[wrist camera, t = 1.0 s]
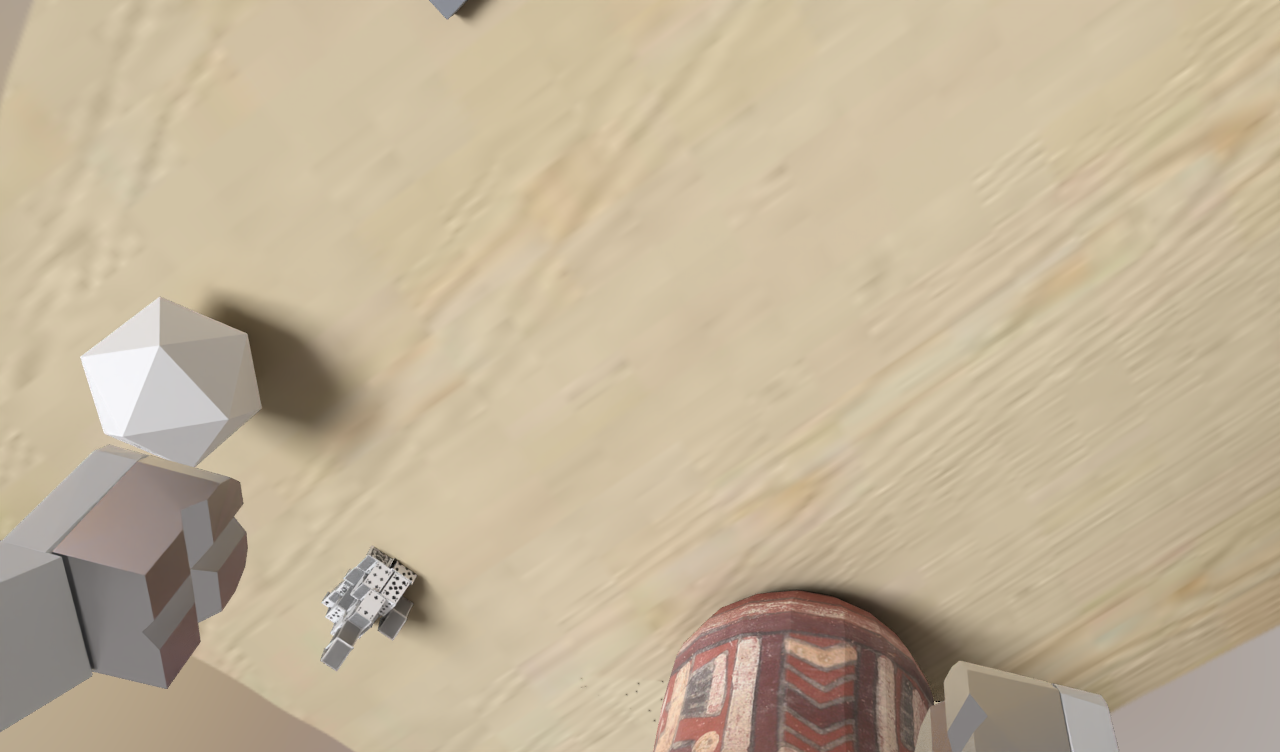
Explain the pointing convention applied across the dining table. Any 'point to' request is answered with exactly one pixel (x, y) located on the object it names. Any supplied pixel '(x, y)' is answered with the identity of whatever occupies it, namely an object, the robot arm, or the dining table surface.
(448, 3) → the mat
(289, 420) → the dining table surface
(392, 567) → the house of cards
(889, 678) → the pottery
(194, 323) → the die
